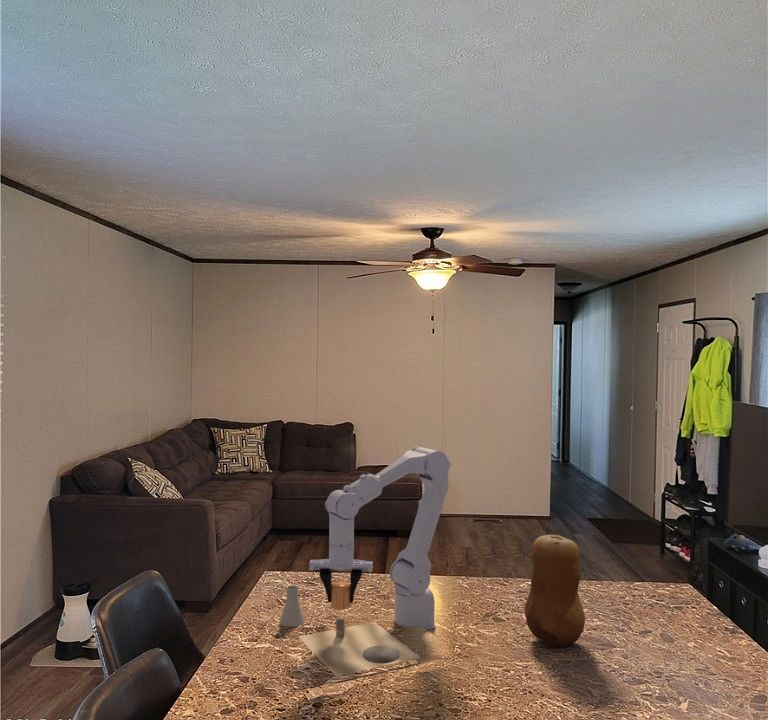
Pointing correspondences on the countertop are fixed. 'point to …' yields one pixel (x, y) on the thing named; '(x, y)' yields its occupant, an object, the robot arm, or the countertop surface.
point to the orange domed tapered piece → (340, 595)
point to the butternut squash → (555, 591)
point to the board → (357, 649)
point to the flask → (292, 609)
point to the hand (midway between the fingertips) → (340, 601)
